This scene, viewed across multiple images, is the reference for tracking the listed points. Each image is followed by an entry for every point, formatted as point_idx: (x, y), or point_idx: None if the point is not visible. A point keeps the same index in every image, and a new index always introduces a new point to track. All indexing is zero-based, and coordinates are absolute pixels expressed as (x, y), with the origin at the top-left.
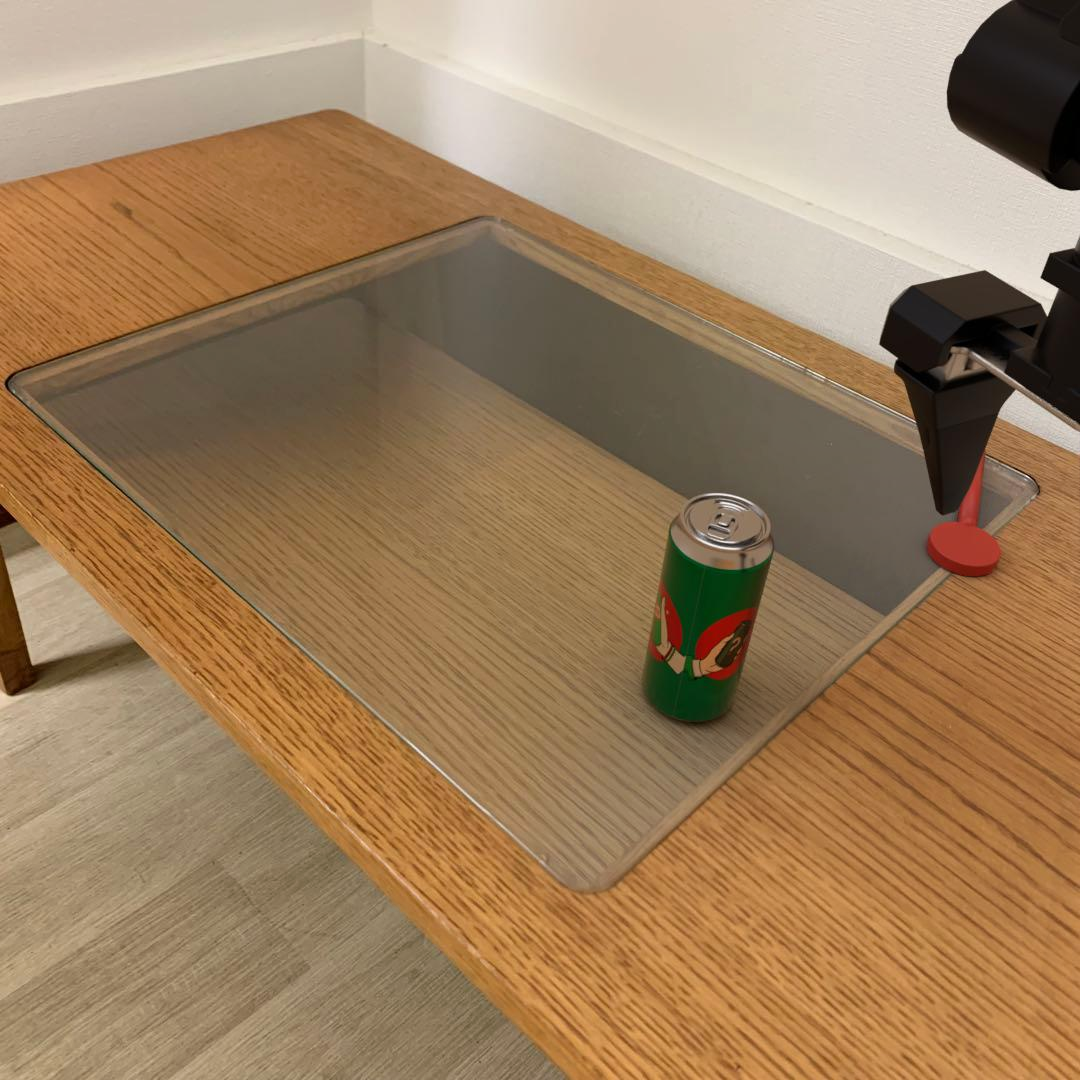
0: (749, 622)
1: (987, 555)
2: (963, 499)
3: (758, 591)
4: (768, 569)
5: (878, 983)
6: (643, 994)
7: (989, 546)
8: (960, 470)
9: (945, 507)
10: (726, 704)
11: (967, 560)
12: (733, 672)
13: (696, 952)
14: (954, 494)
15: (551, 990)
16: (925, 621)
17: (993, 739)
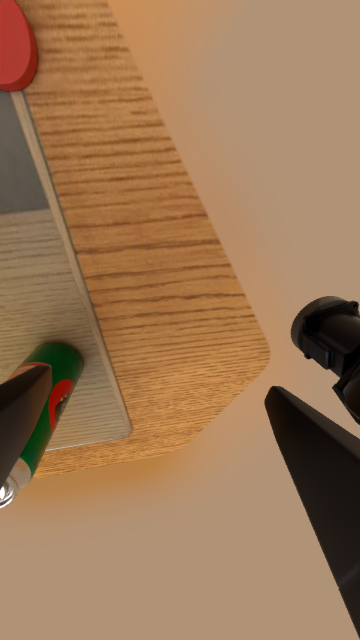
0: (56, 411)
1: (15, 29)
2: (43, 376)
3: (43, 433)
4: (29, 439)
5: (214, 385)
6: (168, 437)
7: (1, 4)
8: (6, 441)
9: (46, 396)
10: (80, 365)
11: (15, 66)
12: (72, 383)
13: (168, 420)
14: (36, 404)
15: (151, 452)
16: (67, 183)
17: (171, 246)
